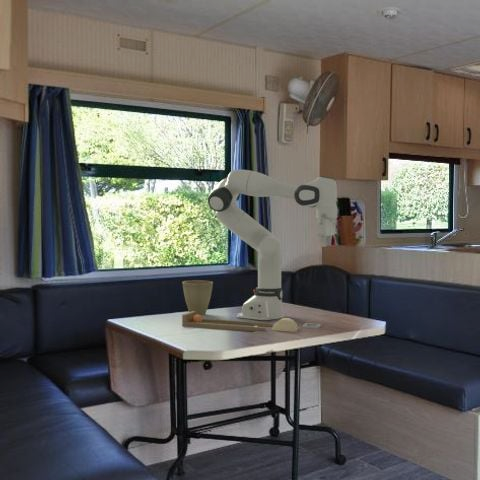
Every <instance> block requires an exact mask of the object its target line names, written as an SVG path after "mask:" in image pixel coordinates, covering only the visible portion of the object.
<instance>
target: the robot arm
mask: <svg viewBox="0 0 480 480" xmlns="http://www.w3.org/2000/svg"><path fill="white" fill-rule="evenodd" d="M241 195H245V196H249V197H250V196H251V197H255V198H256V197H257V198H260V197H261V198H264V197H265V198H267V197H281V198H286V199H291V200H294V201H295V202H296V204H298V205H299V206H302V207H306V208H316V209H315V210H316V211H315V215H316V216H315V218H316V219H318V220H317V230H316V231H317V237H320V242H321V247H322V248H325V247H327V246H329V247H330V246H331V245H332V238H333V236H334V235H335V234H336V228H337V227H336V226H337V219H338V206H337V200H338V199H337V198H338V188H337V182H336V180H335V178H332V177H329V176H323V175H320V176H318V177H317V178H315V179H314V180H312V181H309V182H307V183H303V184H301V185H294V184H289V183H285V182H281V181H279V180H277V179H274V178H273V177H271V176H268V175H266V174H264V173H262V172H258V171H253V170H249V169H233V170H231V171H230V172H229V174H228V175H227V176H226V177H224V178H223V179H222V180H221V181H220V182H218V183H217V184H216V185H215V187H214V188H213V189H212V191H210V193H209V195H208V198H207V203H208V206H209V207H210V209H211V210H213V211H215V212H216V215H215V216H216V218H217V219H218V220H219V221H220V223H221V224H223V226H224V227H226V228H227V229H228V230H229V231H230V232H232V233H233V234H234V235H236V236H237V237H238V238H239V239H241V241H243V242H245V244H247V245H248V246H250V247H251V248H252V249H254V250H255V251H256V252H257V287H255V288H254V289H253V294H254V295H252V296H251V297H250V298H248V299H247V300H246V301H245V302H244V303H243V304H242V308H241V312H238V313H237V314H236V317H237V318H238V319H239V318H241V319H247V320H257V321H259V320H260V321H270V320H277V319H283V318H286V317H285V313H284V309H283V303H282V302H283V287H282V261H283V259H282V258H283V245H282V242H281V240H280V238H278V237H277V236H276V235H275V234H273V233H272V232H270V230H268V229H267V228H266V227H264V225H262V224H260V222H258V221H257V220H255V219H254V218H253V217H252V216H250V215H249V214H248V213H247V212H245V211H244V210H243V209H241V208H240V207H239V206H238V205H237V202H238V201H239V199H240V196H241Z"/></svg>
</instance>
